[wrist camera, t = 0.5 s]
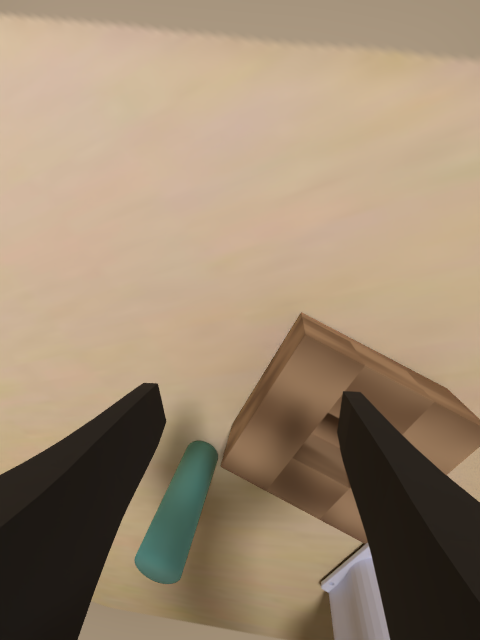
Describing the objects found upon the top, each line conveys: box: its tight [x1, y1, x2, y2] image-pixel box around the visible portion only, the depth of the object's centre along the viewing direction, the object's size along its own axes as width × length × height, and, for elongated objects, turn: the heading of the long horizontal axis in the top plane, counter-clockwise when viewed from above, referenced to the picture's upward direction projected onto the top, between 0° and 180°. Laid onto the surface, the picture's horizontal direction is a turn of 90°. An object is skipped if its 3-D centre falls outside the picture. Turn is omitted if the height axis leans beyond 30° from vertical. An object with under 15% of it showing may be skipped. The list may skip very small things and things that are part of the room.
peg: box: [135, 441, 218, 584], centre depth 20 cm, size 3×3×9 cm
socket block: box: [221, 312, 480, 544], centre depth 18 cm, size 12×12×4 cm
